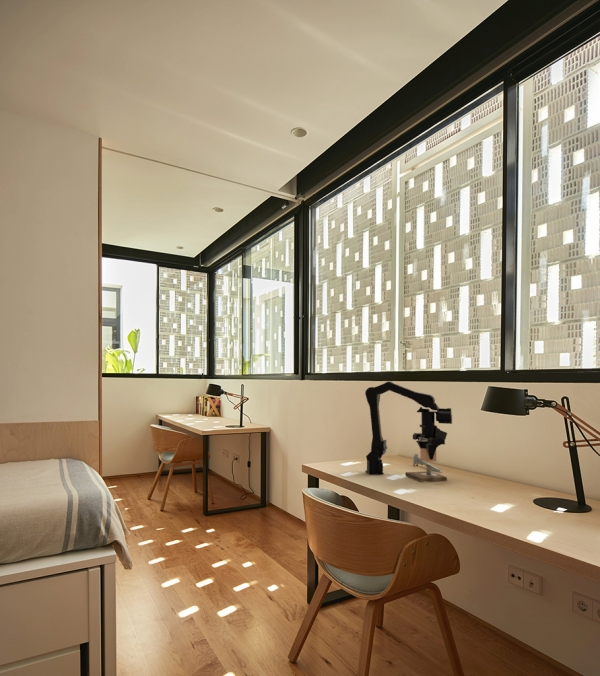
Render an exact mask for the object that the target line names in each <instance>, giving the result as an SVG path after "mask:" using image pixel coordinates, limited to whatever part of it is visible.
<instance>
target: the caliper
mask: <svg viewBox="0 0 600 676" xmlns="http://www.w3.org/2000/svg"><path fill="white" fill-rule="evenodd" d="M412 461H413V462H412V464H414V465H413V466H415V464H416V465H418V466H419V464H420V465H421V466H422V465H423V466H425V467H426V465H431V470H433V472H434V471H435V472H436V471H437V472H436V473H440V472H442V473H443V471H441V469H440V468H438V467H436V466H434V465H432V464H431V463H429V462H425V461H423V460H421V456H419V454H418V453H414V454H413V458H412Z"/></svg>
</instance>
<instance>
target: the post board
mask: <svg viewBox="0 0 600 676" xmlns="http://www.w3.org/2000/svg"><path fill="white" fill-rule="evenodd" d="M431 465H432V464H431ZM431 465H426V466H425V467H426V470H425V471H407V472H406V471H405V476H406V477H408V476H409V477H408V478H410V477H411V478H410V479H412V478H413V479H412V480H414V479H415V480H414V481H416V480H417V482H418V481H419V482H418V483H423V481H430V482H443V481H442V480H447V481H448V477H447V476H445V475H442V474H439V473H438V472H436V471H435V472H434V471H432V469H431Z"/></svg>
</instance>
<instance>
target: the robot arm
mask: <svg viewBox="0 0 600 676" xmlns="http://www.w3.org/2000/svg"><path fill="white" fill-rule="evenodd" d="M389 391H390V392H393V393H395V394H397V395H400V396H402V397H404V398H407V399H410V400H412V401H414V402H415V403H417V404H419V405H420V407H419V409H418V410H416V412H417V413H420V414H421V416H420V417H421V422H420V423H421V424H419V428H421V432H414V433H413V434H412V440H414V441H415V442H416V444H417V445H418V447H419V449H420V448H427V450H428V454H429V457H430V459H433V457H434V454H435V451H436V452H437V448H438V447H439V446H441V445H442V446H443V445H446V439H447V436H448V432H446V431H443V430H441V429H440V428H438V426H437V425H436V424H435V423H436V422H438V424H446V425H447V424H448V425H451V424H453V414H452V412H453V411H452V408H450V407H449V408H442V407H441V408H440V407H439V406H438V404H436V399H435V397H434V396H433V395H432V394H428V393H424V392H418V391H415V390H411V389H409V388H408V387H407V388H406V387H405V386H402V385H399V384H396V383H394V382H392V381H386V382H384V383H382V384H380V385H378V386H377V385H376V386H370V387H368V388H367V389H366V390H365V399H366V401H367V404H368V406H369V412H370V414H369V415H370V422H371V432H372V433H371V434H372V440H371V445H370V446H371V447H370V451H369V452H368V453H367V454H366V470H365V473H367V474H369V475H384V462H383V460H382V456H384V455H385V454H386V453H387V450H388V446H387V439H384V438H383V436H382V435H383V434H382V426H381V416H380V402H381V395H383V394H385V393H387V392H389ZM423 407H424V408H423ZM435 421H436V422H435Z"/></svg>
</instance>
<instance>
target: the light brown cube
mask: <svg viewBox="0 0 600 676" xmlns="http://www.w3.org/2000/svg"><path fill="white" fill-rule="evenodd" d="M419 449H420V458H421V460H423V461H425V462H427V463H429V462H430V463H431V462H433V463H434V462H437V450H436V451H435V454H434V457H433V459H430V457H429V454H428V450H427V448H420V447H419Z"/></svg>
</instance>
